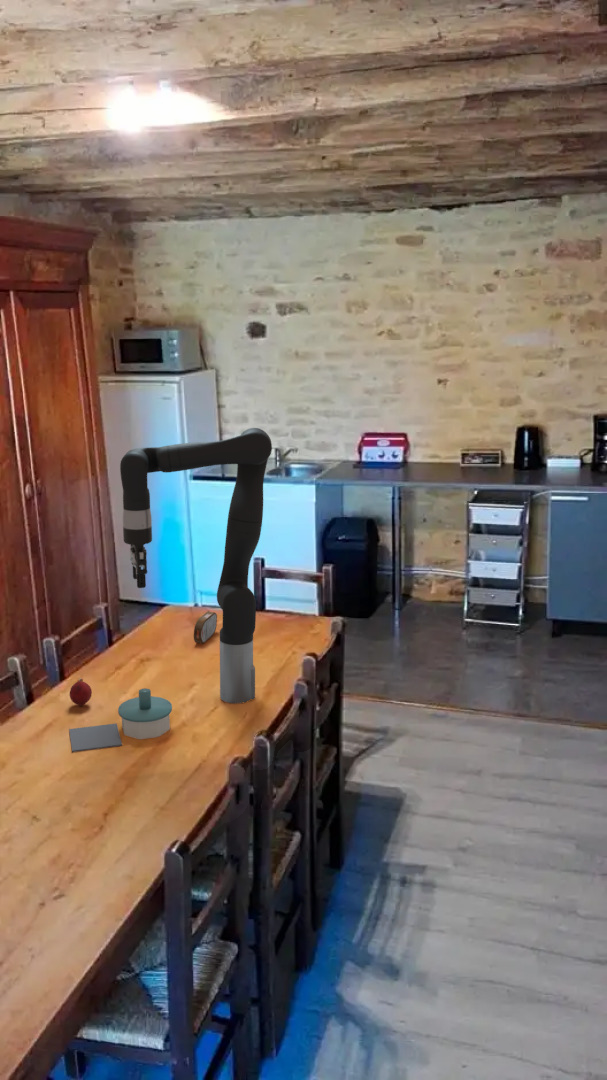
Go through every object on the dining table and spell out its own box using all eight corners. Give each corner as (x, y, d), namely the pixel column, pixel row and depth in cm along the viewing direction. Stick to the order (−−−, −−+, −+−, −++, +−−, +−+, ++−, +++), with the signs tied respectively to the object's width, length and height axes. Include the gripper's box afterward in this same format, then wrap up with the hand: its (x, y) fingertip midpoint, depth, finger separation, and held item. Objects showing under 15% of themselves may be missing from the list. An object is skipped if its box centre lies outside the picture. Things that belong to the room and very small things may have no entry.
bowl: (164, 715, 236) (164, 698, 235) (171, 735, 225) (171, 717, 224) (120, 721, 233) (119, 703, 231) (125, 741, 222) (125, 722, 221)
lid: (167, 696, 236) (166, 677, 235) (176, 718, 223) (175, 698, 222) (115, 702, 232) (114, 683, 231) (121, 725, 219) (120, 705, 218)
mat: (116, 724, 231) (116, 723, 230) (122, 745, 220) (122, 744, 219) (69, 730, 227) (69, 729, 227) (72, 752, 216) (72, 750, 216)
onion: (86, 711, 238) (85, 684, 236) (66, 709, 239) (65, 682, 237) (95, 702, 243) (94, 675, 241) (76, 700, 244) (74, 673, 242)
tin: (210, 630, 299) (209, 607, 297) (218, 631, 298) (218, 608, 296) (192, 646, 285) (192, 621, 283) (201, 647, 284) (201, 622, 282)
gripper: (155, 530, 230) (157, 589, 234) (147, 518, 243) (149, 574, 247) (126, 532, 228) (128, 591, 232) (120, 519, 241) (122, 576, 245)
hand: (139, 582), depth 240 cm, fingers open, 8 cm apart
